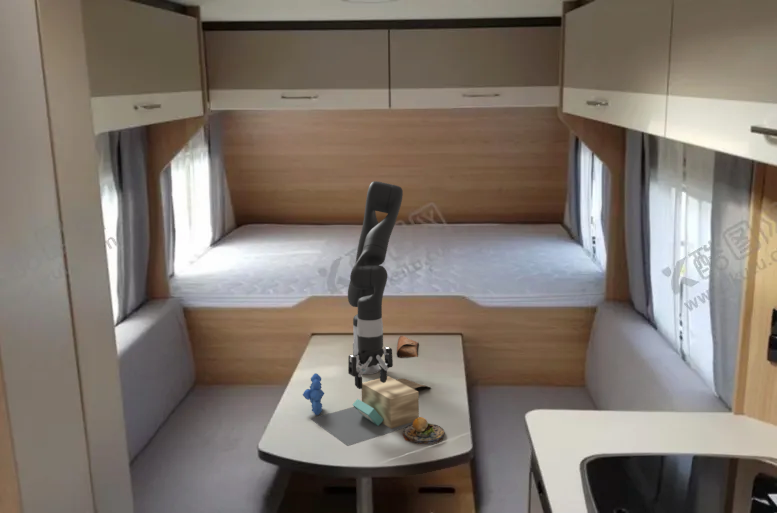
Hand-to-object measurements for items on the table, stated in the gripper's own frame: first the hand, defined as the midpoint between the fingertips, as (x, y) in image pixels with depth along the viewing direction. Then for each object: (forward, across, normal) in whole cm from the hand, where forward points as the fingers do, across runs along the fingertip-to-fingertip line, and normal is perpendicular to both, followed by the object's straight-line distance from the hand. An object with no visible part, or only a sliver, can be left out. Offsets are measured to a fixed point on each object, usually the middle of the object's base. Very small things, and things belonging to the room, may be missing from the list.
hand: (371, 385), depth 205 cm
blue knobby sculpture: (+12, +11, -16) cm, 23 cm away
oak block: (+11, -6, 0) cm, 13 cm away
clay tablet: (+12, -22, -14) cm, 29 cm away
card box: (+7, 0, 0) cm, 7 cm away
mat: (+12, +2, -1) cm, 12 cm away
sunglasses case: (+12, -48, -48) cm, 69 cm away
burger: (+12, -6, +17) cm, 22 cm away
